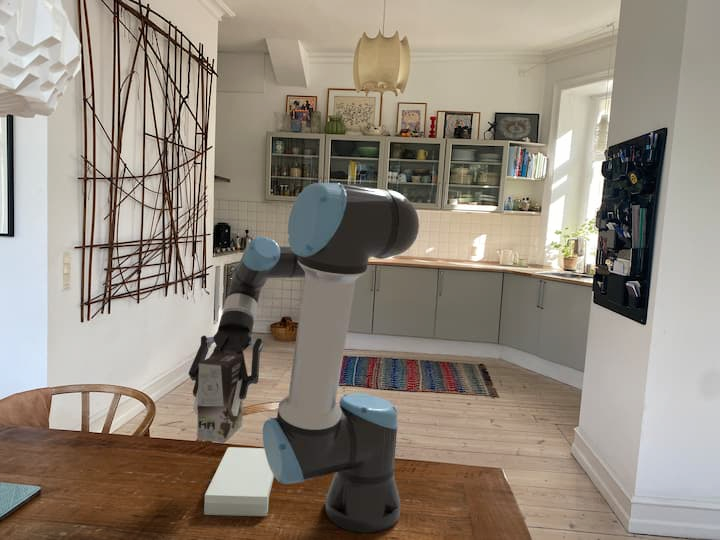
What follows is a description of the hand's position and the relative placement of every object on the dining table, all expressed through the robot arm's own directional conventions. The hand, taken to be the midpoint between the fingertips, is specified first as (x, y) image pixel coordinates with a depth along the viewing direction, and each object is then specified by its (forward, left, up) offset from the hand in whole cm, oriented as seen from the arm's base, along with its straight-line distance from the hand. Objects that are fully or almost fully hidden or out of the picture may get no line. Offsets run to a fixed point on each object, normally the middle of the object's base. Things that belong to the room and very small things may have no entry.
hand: (215, 412), depth 97 cm
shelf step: (-6, -4, -18) cm, 20 cm away
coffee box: (0, -4, -6) cm, 7 cm away
